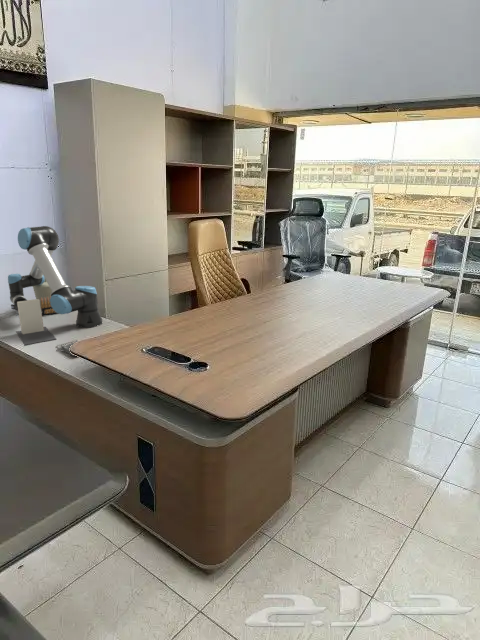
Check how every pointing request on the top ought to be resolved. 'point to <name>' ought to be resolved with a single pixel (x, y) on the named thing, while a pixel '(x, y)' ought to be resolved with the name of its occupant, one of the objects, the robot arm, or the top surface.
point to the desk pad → (36, 337)
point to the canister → (42, 291)
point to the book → (30, 316)
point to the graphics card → (65, 347)
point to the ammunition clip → (47, 306)
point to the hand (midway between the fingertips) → (28, 311)
